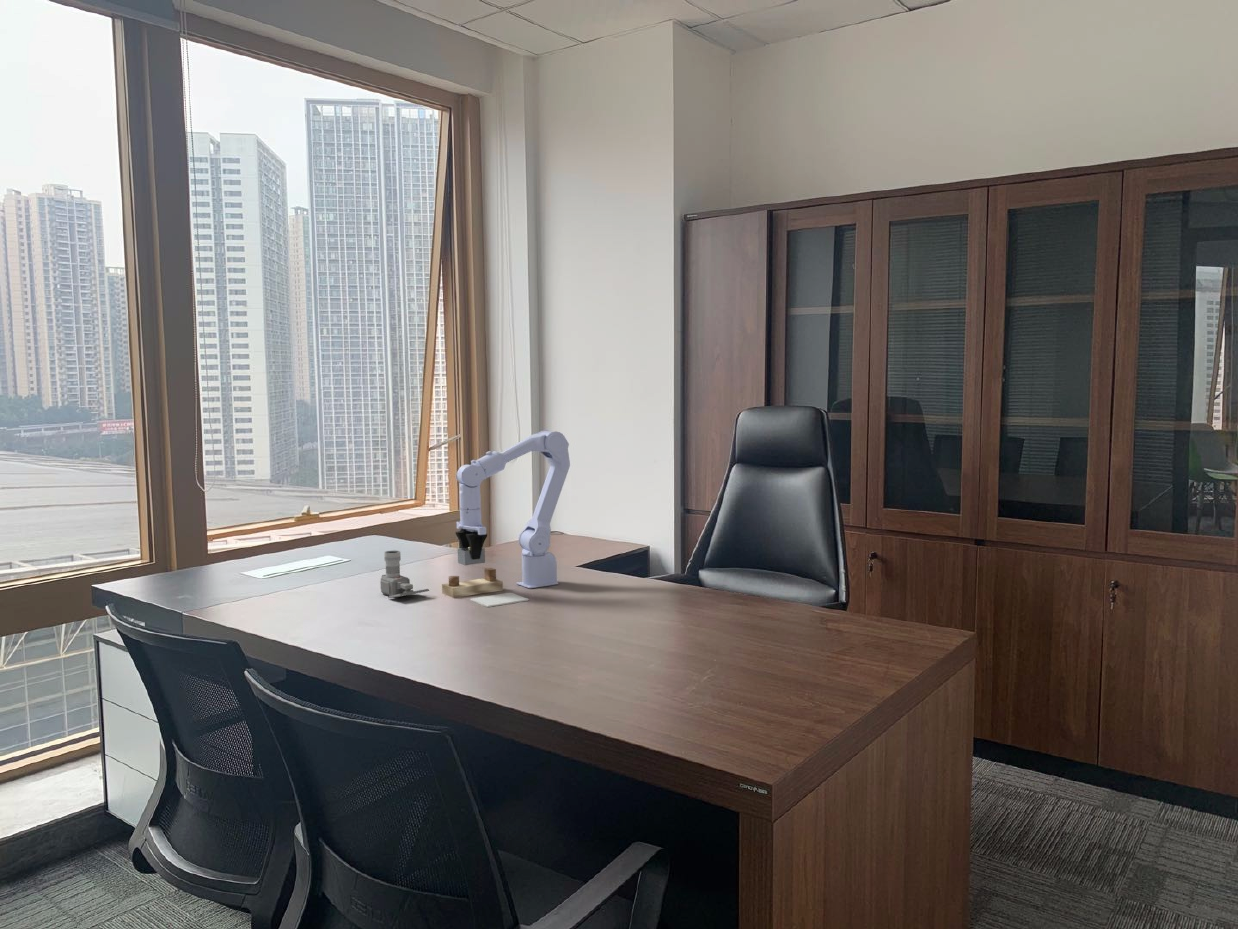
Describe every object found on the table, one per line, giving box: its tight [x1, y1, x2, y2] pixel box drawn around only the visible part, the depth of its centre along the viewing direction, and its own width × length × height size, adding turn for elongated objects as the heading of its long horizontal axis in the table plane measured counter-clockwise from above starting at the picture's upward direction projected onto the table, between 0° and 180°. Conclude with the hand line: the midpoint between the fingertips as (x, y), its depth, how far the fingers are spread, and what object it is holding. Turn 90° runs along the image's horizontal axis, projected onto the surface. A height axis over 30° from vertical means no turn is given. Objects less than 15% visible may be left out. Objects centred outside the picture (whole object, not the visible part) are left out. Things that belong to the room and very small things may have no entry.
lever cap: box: [457, 547, 486, 566], centre depth 256 cm, size 6×4×4 cm
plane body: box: [441, 567, 504, 599], centre depth 257 cm, size 15×7×6 cm, turn 125°
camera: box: [379, 549, 430, 599], centre depth 253 cm, size 9×12×15 cm
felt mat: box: [470, 592, 529, 608], centre depth 246 cm, size 12×10×1 cm
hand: (471, 557), depth 257 cm, fingers closed on lever cap, 4 cm apart
